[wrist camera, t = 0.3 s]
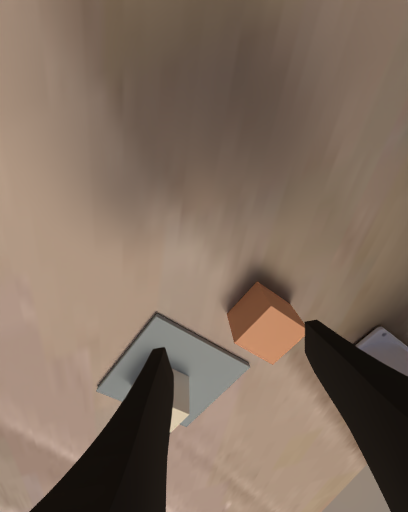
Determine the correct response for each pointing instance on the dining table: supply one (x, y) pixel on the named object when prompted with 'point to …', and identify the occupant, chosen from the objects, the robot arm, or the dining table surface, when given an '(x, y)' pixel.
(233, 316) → the terracotta block
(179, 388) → the cream block
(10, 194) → the dining table surface
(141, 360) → the grey square plate
